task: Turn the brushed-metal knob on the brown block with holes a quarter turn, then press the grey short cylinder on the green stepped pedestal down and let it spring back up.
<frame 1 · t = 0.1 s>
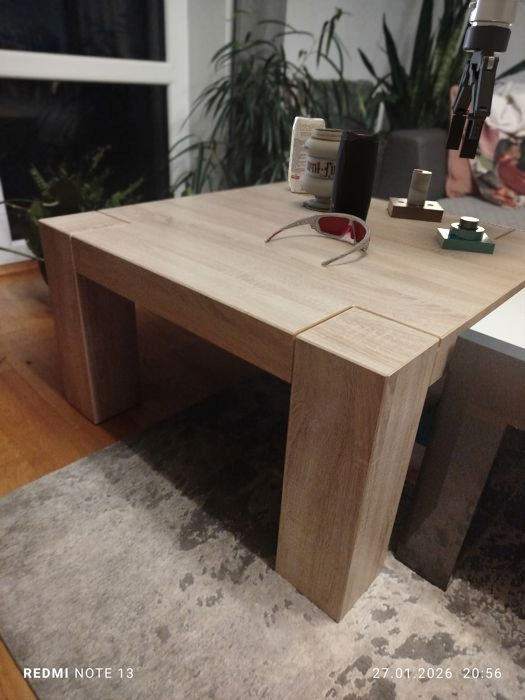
hand: (458, 153, 99), 17 cm above the table, tool pointing down, fingers open, 13 cm apart
white carton: (302, 191, 143), on the table
grey short cylinder: (468, 224, 102), point 5 cm above the table, slide at 0.1 cm
sunglasses: (322, 248, 96), on the table
brown block with holes: (413, 215, 126), on the table
portable speaker: (346, 227, 111), on the table
green stepped pedestal: (462, 246, 104), on the table
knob: (419, 187, 122), point 7 cm above the table, hinge at 0.0°
apothecary jar: (321, 207, 127), on the table
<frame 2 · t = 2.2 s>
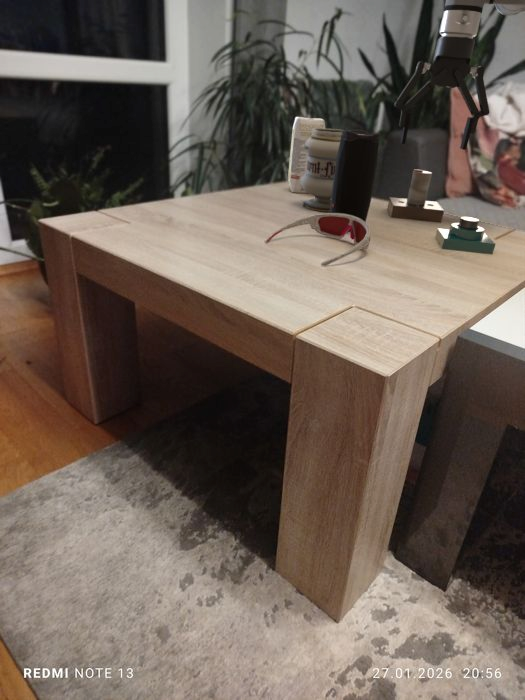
hand: (432, 146, 115), 17 cm above the table, tool pointing down, fingers open, 13 cm apart
nothing on the table moved.
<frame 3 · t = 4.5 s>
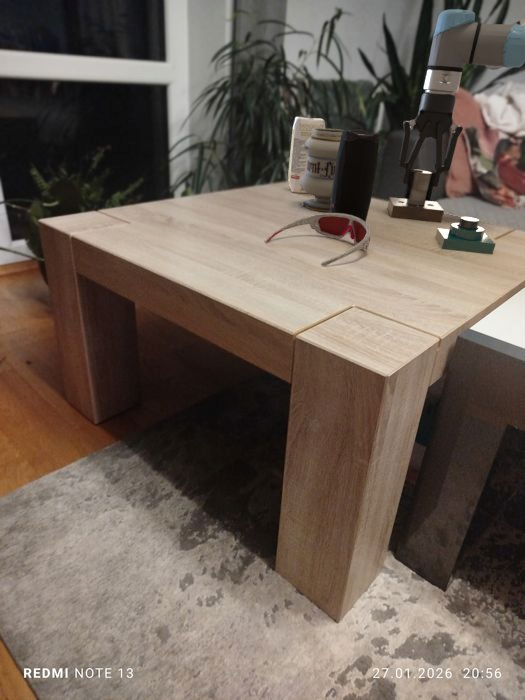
hand: (416, 198, 124), 4 cm above the table, tool pointing down, fingers closed on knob, 4 cm apart
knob: (419, 187, 122), point 7 cm above the table, hinge at 0.0°, touching gripper
everything else where it was.
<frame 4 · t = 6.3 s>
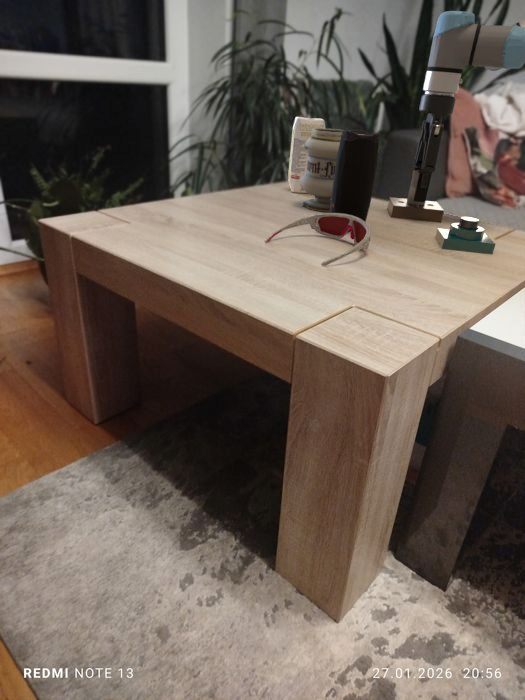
hand: (416, 197, 124), 4 cm above the table, tool pointing down, fingers open, 7 cm apart
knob: (419, 187, 122), point 7 cm above the table, hinge at 90.0°
everything else where it was.
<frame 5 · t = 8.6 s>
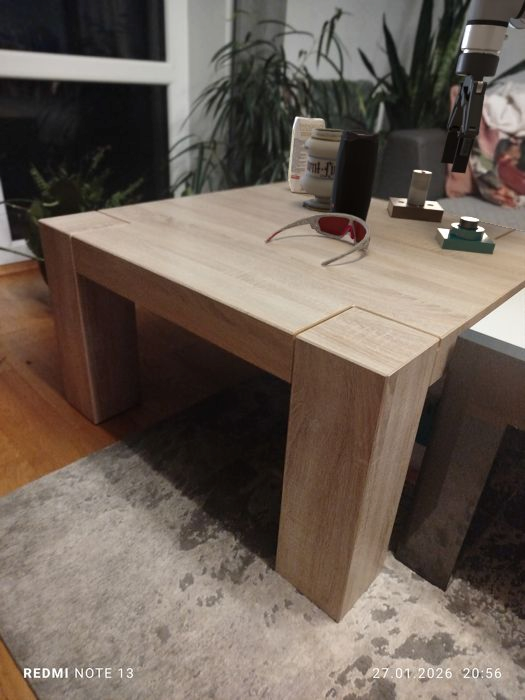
hand: (452, 167, 108), 14 cm above the table, tool pointing down, fingers open, 13 cm apart
nothing on the table moved.
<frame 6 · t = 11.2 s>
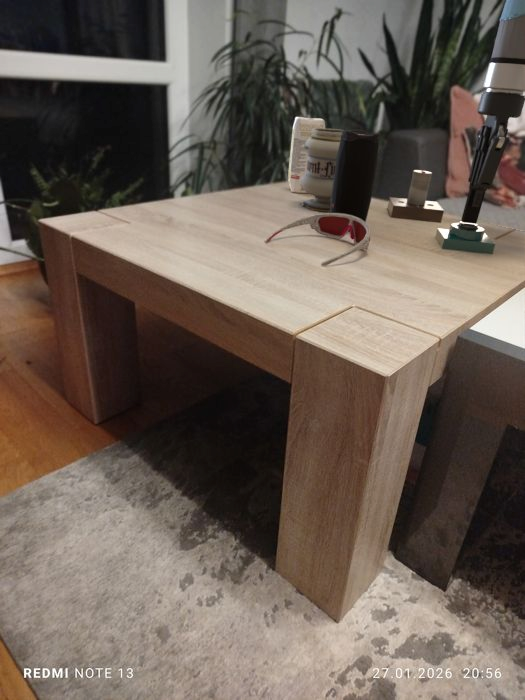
hand: (468, 222, 102), 5 cm above the table, tool pointing down, fingers closed
grey short cylinder: (467, 228, 102), point 4 cm above the table, slide at -0.8 cm, touching gripper
everything else where it was.
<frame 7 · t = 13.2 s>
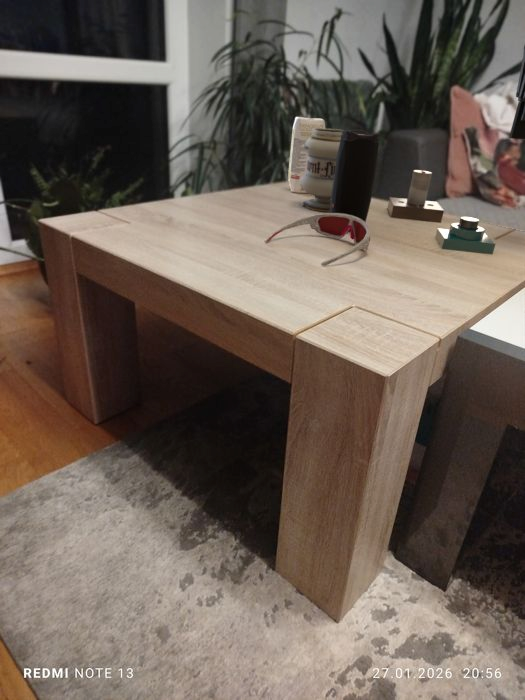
hand: (517, 138, 101), 21 cm above the table, tool pointing down, fingers closed
grey short cylinder: (468, 224, 102), point 5 cm above the table, slide at 0.1 cm
everything else where it was.
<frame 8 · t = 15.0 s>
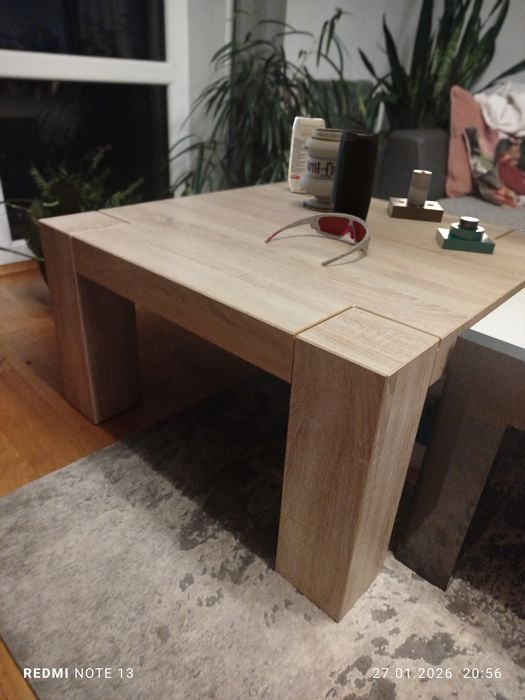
nothing on the table moved.
at the end: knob at +90° (first picture: +0°); grey short cylinder pushed in 1.0 cm at the most during the clip, back to where it started at the end; grey short cylinder slide at 0.1 cm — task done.
